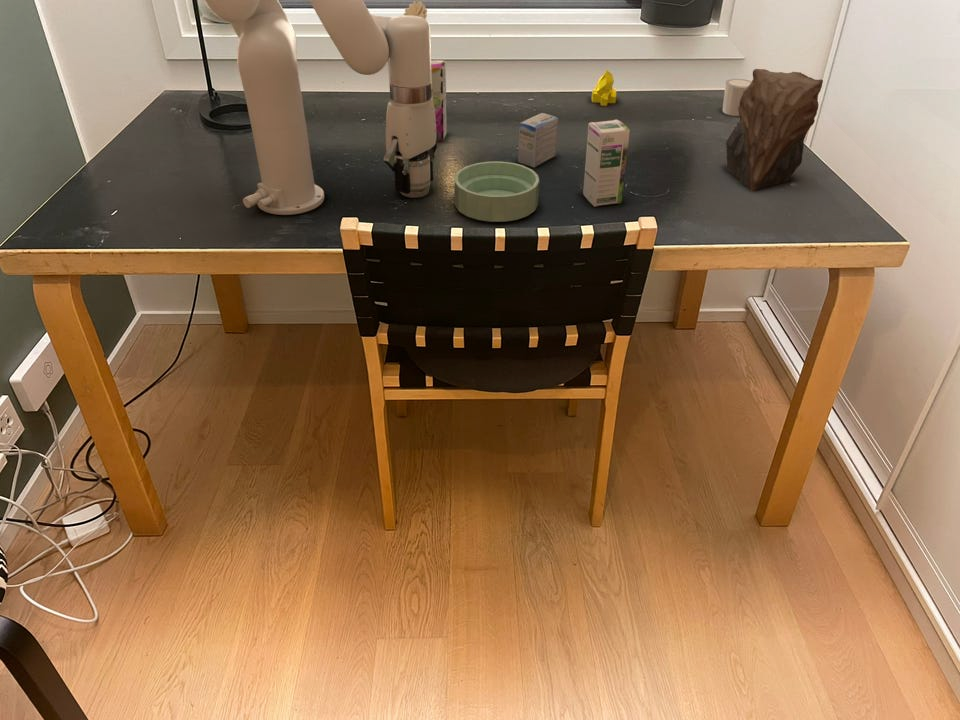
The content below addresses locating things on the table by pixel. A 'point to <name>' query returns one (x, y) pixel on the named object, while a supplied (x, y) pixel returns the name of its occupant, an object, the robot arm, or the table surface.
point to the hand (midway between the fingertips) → (414, 184)
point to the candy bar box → (439, 95)
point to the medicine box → (537, 139)
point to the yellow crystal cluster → (604, 90)
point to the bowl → (496, 191)
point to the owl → (772, 127)
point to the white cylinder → (734, 95)
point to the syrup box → (605, 162)
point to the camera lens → (418, 175)
